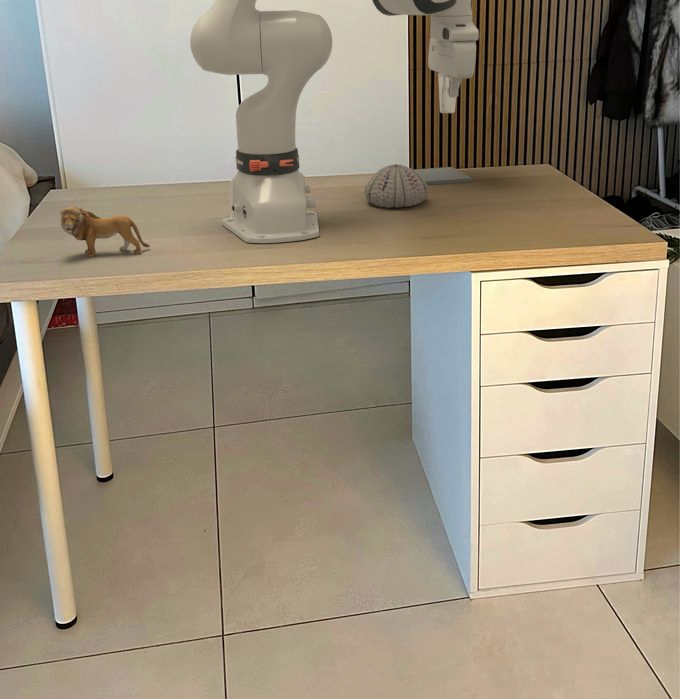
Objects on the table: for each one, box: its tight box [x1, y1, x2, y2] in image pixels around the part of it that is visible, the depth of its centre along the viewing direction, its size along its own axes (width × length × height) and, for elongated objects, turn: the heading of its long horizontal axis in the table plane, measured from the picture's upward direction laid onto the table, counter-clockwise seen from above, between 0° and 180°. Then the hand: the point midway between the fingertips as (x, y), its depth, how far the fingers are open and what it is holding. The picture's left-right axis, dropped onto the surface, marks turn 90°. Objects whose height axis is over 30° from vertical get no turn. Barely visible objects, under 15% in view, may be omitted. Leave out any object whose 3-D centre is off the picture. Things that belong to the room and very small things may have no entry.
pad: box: [413, 166, 473, 186], centre depth 213 cm, size 13×13×1 cm
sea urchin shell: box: [364, 163, 429, 209], centre depth 191 cm, size 13×14×8 cm
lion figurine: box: [59, 205, 151, 258], centre depth 160 cm, size 15×5×9 cm, turn 108°
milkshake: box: [437, 71, 457, 114], centre depth 202 cm, size 4×5×10 cm
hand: (449, 95), depth 202 cm, fingers closed on milkshake, 4 cm apart
